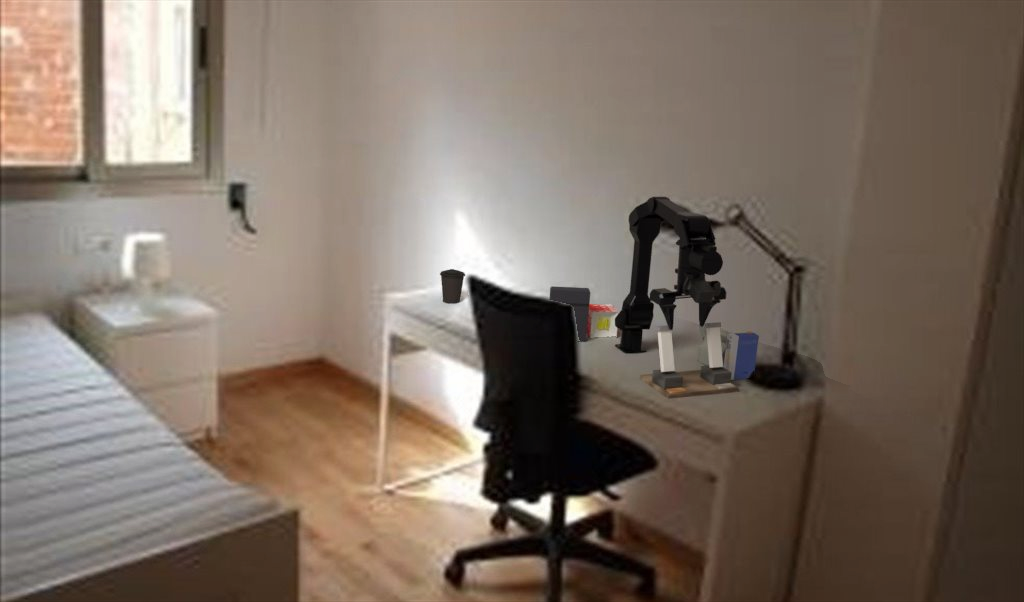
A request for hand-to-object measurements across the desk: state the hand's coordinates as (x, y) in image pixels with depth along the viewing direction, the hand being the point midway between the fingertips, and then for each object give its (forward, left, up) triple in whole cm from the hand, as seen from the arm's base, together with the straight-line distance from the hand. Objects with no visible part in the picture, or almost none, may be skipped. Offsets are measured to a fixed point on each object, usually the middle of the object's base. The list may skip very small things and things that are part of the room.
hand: (686, 327), depth 235 cm
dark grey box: (-40, -13, -15) cm, 44 cm away
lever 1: (+2, -5, -11) cm, 12 cm away
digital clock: (-11, +19, -15) cm, 26 cm away
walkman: (-1, +18, -15) cm, 23 cm away
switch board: (+1, +2, -15) cm, 15 cm away
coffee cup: (-84, -33, -15) cm, 91 cm away
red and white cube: (-43, -1, -15) cm, 45 cm away
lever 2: (+2, +9, -11) cm, 14 cm away
